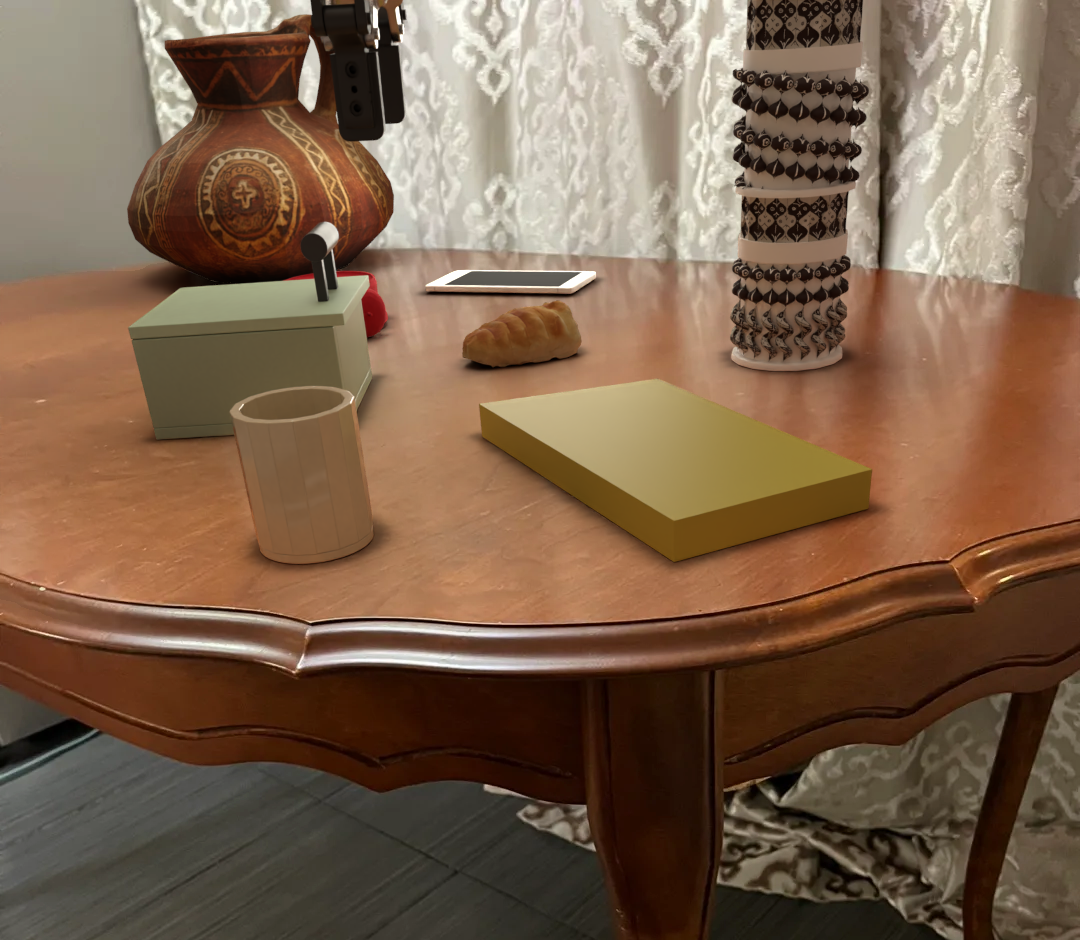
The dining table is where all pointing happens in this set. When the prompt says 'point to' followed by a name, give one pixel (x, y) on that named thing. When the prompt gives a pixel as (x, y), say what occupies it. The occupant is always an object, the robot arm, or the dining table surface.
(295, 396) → the tan cup
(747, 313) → the bracelet display stand
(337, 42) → the robot arm
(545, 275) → the cell phone
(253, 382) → the open hinged lid box
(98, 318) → the dining table surface
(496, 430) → the flat olive board
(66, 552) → the dining table surface
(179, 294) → the box lid
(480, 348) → the pastry
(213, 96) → the jug
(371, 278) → the alarm clock
